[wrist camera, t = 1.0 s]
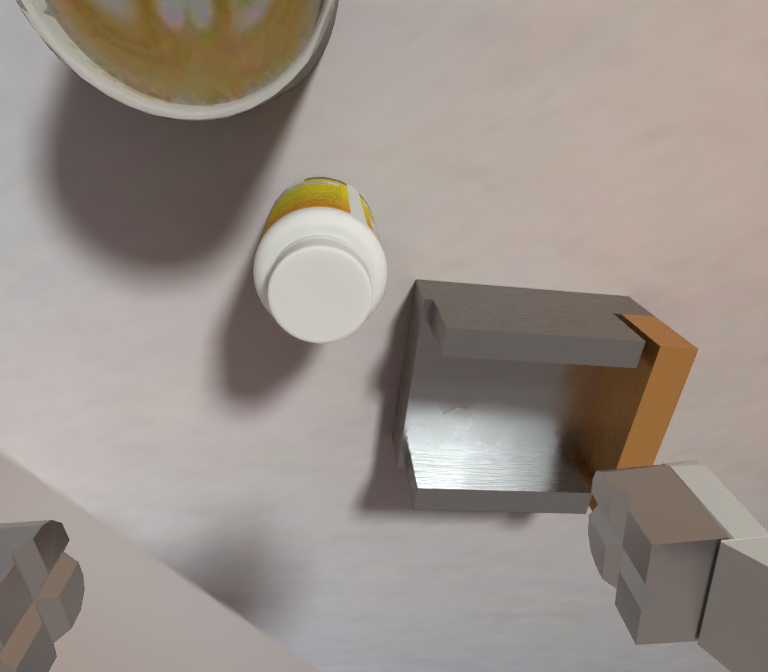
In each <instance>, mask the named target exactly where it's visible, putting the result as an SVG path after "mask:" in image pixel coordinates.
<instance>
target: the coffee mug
mask: <svg viewBox="0 0 768 672" xmlns="http://www.w3.org/2000/svg"><path fill="white" fill-rule="evenodd" d="M16 1H17V3H18V5H19V6H20V8H21V10H22V12H23V14H24V15H25V16H26V18H27V19H28V21H29V22H30V23H31V25H32V26H33V28H34V29H35V30H36V32H37V33H38V34H39V36H40V37H41V38H42V39H43V41H44V42H45V43H46V44H47V46H48V47H49V48H50V49H51V50H52V51H53V52H54V53H55V54H56V56H57V57H58V58H59V59H60V60H61V61H62V62H63V63H64V64H65V65H67V66H68V67H69V68H70V69H71V70H72V71H74V72H75V73H76V74H77V75H78V76H80V77H81V78H82V79H83V80H84V81H85V82H87V83H88V84H90V85H91V86H93V87H94V88H96V89H98V90H99V91H101V92H102V93H104V94H105V95H107V96H108V97H110V98H112V99H114V100H116V101H118V102H120V103H122V104H124V105H126V106H129V107H131V108H134V109H136V110H139V111H142V112H144V113H148V114H152V115H155V116H159V117H163V118H167V119H176V120H187V121H195V120H215V119H222V118H229V117H232V116H235V115H239V114H242V113H245V112H247V111H250V110H252V109H254V108H257V107H259V106H261V105H263V104H265V103H267V102H268V101H270V100H272V99H274V98H276V97H278V96H279V95H281V94H283V93H285V92H286V91H288V90H290V89H291V88H293V87H294V86H295V85H297V84H298V83H299V82H300V81H301V80H302V79H303V78H304V77H306V76H307V74H308V73H309V72H310V71H311V70H312V69H313V67H314V66H315V65H316V63H317V62H318V60H319V59H320V57H321V55H322V54H323V52H324V50H325V48H326V46H327V44H328V41H329V38H330V36H331V33H332V30H333V26H334V23H335V18H336V13H337V7H338V1H339V0H16Z"/></svg>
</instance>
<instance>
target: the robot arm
mask: <svg viewBox="0 0 768 672" xmlns="http://www.w3.org/2000/svg"><path fill="white" fill-rule="evenodd" d="M591 493H592V495H593V496H594V498H595V500H596V501H597V503H598V506H597V507H596V508H595V509H594V510H593V511H592V512H591V514H590V515H589V524H588V536H589V543H590V549H591V553H592V556H593V559H594V562H595V565H596V567H597V569H598V571H599V573H600V575H601V577H602V579H603V580H605V581H606V582H608V583H609V584H611V585H612V586H614V587H615V588H617V591H616V600H615V605H616V607H617V609H618V611H619V613H620V615H621V617H622V619H623V620H624V622H625V624H626V626H627V628H628V630H629V632H630V634H631V636H632V638H633V640H634V642H635V644H636V645H641V644H656V643H672V642H687V641H698V645H699V646H701V647H702V648H703V649H704V650H705V651H707V652H708V653H709V654H710V655H712V656H713V657H714V658H715V659H716V660H718V661H719V662H720V663H721V664H723V665H724V666H725V667H726V668H728V669H729V670H730V671H731V672H768V532H767V531H766V530H765V529H764V527H763V526H762V525H761V524H760V523H759V522H758V521H757V520H756V519H755V518H754V517H753V516H752V515H751V514H750V513H749V512H748V511H747V509H746V508H745V507H744V506H743V505H742V504H741V503H740V502H739V501H738V500H737V499H736V498H735V497H734V496H733V495H732V494H731V493H730V491H729V490H728V489H727V488H726V487H725V486H724V485H723V484H722V483H721V482H720V481H719V480H718V479H717V478H716V477H715V476H714V475H713V473H712V472H711V471H710V470H709V469H708V468H707V467H706V466H705V465H704V464H703V463H701V462H698V461H696V460H690V461H681V462H672V463H663V464H661V465H652V466H641V467H631V468H621V469H610V470H600V471H596V473H595V475H594V477H593V481H592V490H591ZM68 542H69V538H68V536H67V533H66V531H65V529H64V527H63V525H62V523H60V522H57V521H54V520H45V521H30V522H15V523H1V524H0V672H49V670H50V668H51V666H52V664H53V663H54V661H55V659H56V652H55V648H54V644H53V643H54V642H56V641H57V640H58V639H59V638H60V637H62V636H63V635H64V634H65V633H66V632H68V631H69V630H70V629H71V628H72V626H73V624H74V622H75V620H76V618H77V616H78V614H79V612H80V610H81V605H82V600H83V595H84V580H83V573H82V571H81V568H80V565H79V563H78V562H77V561H76V560H74V559H73V558H72V557H70V556H69V555H68V554H66V553H65V552H64V550H65V548H66V546H67V544H68Z"/></svg>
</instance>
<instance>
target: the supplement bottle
mask: <svg viewBox="0 0 768 672" xmlns="http://www.w3.org/2000/svg"><path fill="white" fill-rule="evenodd" d="M253 277H254V284H255V288H256V291H257V294H258V296H259V298H260V300H261V302H262V304H263V305H264V307H265V308H266V310H267V311H268V312H269V313H270V314H271V315H272V316H273V317H274V319H275V320H276V321H277V323H278V324H279V325H280V326H281V327H282V328H283V329H284V330H285V331H286V332H287V333H289V334H290V335H292V336H294V337H295V338H298V339H300V340H302V341H306V342H310V343H330V342H335V341H338V340H341V339H343V338H345V337H347V336H349V335H350V334H352V333H353V332H355V331H356V330H357V329H358V328H359V327H360V326H361V325H362V323H363V322H364V321H365V320H366V319H367V318H368V317H369V316H370V315H371V314H372V313H373V312H374V310H375V309H376V308H377V306H378V305H379V303H380V301H381V299H382V297H383V294H384V291H385V287H386V282H387V263H386V257H385V253H384V250H383V247H382V244H381V241H380V238H379V234H378V231H377V228H376V225H375V222H374V219H373V216H372V213H371V211H370V208H369V206H368V205H367V203H366V201H365V200H364V198H363V197H362V196H361V195H360V194H359V193H358V192H357V191H356V190H355V189H354V188H353V187H351V186H350V185H348V184H347V183H345V182H343V181H340V180H338V179H334V178H330V177H310V178H306V179H303V180H300V181H298V182H296V183H294V184H292V185H291V186H289V187H288V188H287V189H286V190H285V191H284V192H283V193H282V194H281V195H280V196H279V197H278V199H277V200H276V202H275V203H274V205H273V207H272V210H271V212H270V215H269V218H268V220H267V223H266V226H265V228H264V231H263V234H262V236H261V239H260V242H259V245H258V247H257V250H256V254H255V258H254V266H253Z"/></svg>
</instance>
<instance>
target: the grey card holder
mask: <svg viewBox="0 0 768 672" xmlns="http://www.w3.org/2000/svg"><path fill="white" fill-rule="evenodd" d="M697 351H698V348H696V347H695V346H694V345H692V344H691V343H690V342H688V341H687V340H686V339H684V338H683V337H682V336H680V335H679V334H678V333H676V332H675V331H674V330H672V329H671V328H670V327H668V326H667V325H666V324H664V323H663V322H662V321H660V320H659V319H658V318H656V317H655V316H654V315H652V314H651V313H650V312H648V311H647V310H646V309H644V308H643V307H642V306H640V305H639V304H638V303H636V302H635V301H634V300H632V299H631V298H630V297H627V296H614V295H602V294H589V293H577V292H565V291H552V290H540V289H527V288H515V287H502V286H490V285H478V284H465V283H453V282H440V281H428V280H416V284H415V291H414V297H413V304H412V311H411V318H410V324H409V331H408V338H407V344H406V351H405V358H404V365H403V371H402V378H401V385H400V392H399V398H398V405H397V412H396V419H395V425H394V432H393V444H394V450H395V455H396V461H397V467H398V468H404V469H406V471H407V476H408V482H409V487H410V492H411V497H412V502H413V507H414V510H452V511H493V512H533V513H573V514H586V511H587V509H588V506H589V507H590V508H591V510H592V511H593V510H594V509H595V508H596V507H597V506H598V503H597V501H596V500H595V498H594V496H593V495H592V493H591V490H592V481H593V477H594V475H595V473H596V471H600V470H610V469H621V468H631V467H641V466H652V465H653V463H654V461H655V458H656V455H657V453H658V450H659V448H660V445H661V443H662V440H663V438H664V435H665V433H666V430H667V428H668V425H669V423H670V420H671V417H672V415H673V412H674V410H675V407H676V405H677V402H678V400H679V397H680V395H681V392H682V390H683V387H684V384H685V382H686V379H687V377H688V374H689V372H690V369H691V367H692V364H693V362H694V359H695V357H696V354H697Z"/></svg>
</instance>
